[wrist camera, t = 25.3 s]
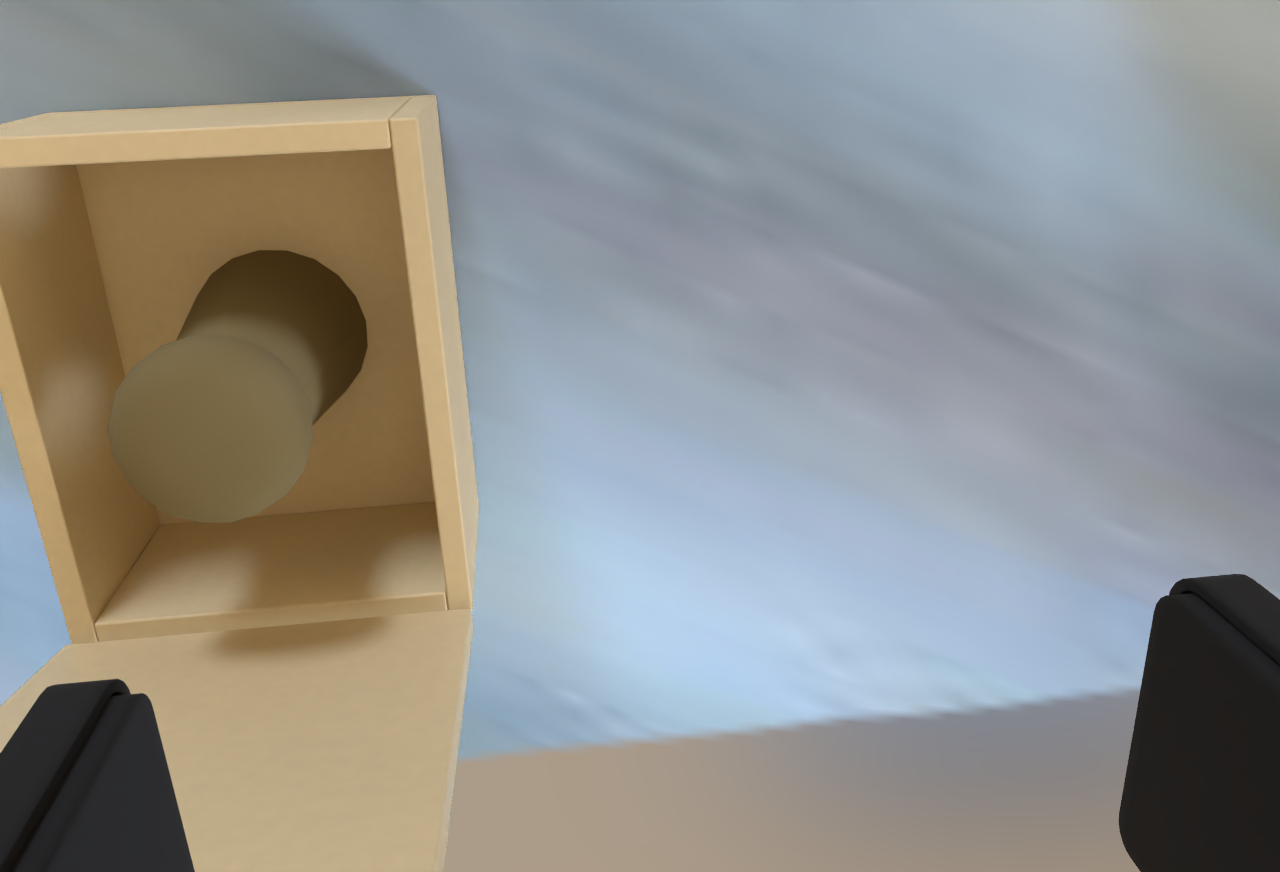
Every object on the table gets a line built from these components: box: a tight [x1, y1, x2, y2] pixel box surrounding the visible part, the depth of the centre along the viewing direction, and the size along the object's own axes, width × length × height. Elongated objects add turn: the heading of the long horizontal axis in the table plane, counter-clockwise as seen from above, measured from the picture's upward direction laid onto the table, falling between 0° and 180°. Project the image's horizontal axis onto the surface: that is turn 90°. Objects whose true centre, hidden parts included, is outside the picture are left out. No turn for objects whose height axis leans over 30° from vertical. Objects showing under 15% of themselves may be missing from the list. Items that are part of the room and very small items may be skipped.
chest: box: [0, 95, 479, 644], centre depth 35 cm, size 16×13×8 cm
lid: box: [0, 609, 473, 872], centre depth 26 cm, size 16×13×5 cm
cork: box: [108, 250, 368, 523], centre depth 33 cm, size 6×6×11 cm
